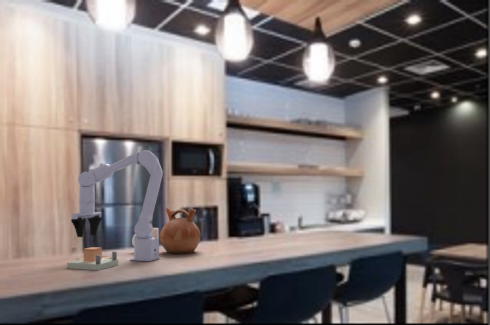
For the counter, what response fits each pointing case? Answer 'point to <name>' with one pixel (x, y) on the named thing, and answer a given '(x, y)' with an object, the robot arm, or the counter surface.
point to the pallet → (102, 258)
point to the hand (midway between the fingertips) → (86, 236)
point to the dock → (94, 263)
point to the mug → (153, 232)
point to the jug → (180, 233)
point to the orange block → (92, 253)
